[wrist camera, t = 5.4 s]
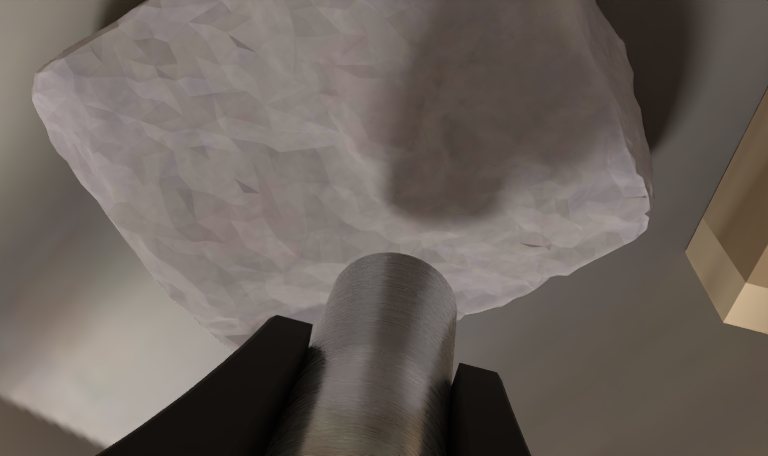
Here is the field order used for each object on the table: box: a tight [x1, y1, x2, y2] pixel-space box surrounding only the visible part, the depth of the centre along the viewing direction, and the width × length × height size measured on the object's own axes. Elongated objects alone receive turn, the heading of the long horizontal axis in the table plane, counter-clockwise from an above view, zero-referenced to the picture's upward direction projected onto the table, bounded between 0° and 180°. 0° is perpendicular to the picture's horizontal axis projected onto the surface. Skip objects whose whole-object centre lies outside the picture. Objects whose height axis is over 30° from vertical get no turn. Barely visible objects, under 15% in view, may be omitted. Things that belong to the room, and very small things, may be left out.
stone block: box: [31, 0, 655, 350], centre depth 15 cm, size 12×5×10 cm
